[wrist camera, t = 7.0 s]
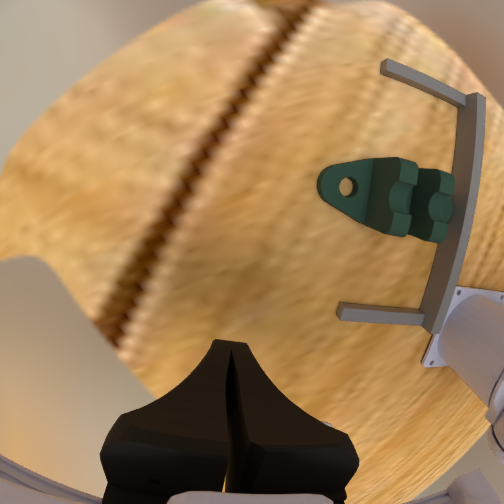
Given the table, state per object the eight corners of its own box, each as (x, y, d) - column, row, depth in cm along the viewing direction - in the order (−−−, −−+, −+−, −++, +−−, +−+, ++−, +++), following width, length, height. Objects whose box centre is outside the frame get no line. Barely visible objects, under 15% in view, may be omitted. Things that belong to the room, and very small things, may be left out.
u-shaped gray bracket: (466, 101, 18) (485, 97, 16) (424, 320, 23) (439, 334, 20) (381, 62, 17) (396, 51, 15) (336, 314, 22) (346, 330, 20)
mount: (447, 181, 20) (489, 186, 15) (438, 236, 21) (478, 252, 16) (320, 149, 19) (346, 142, 14) (311, 214, 20) (333, 227, 16)
